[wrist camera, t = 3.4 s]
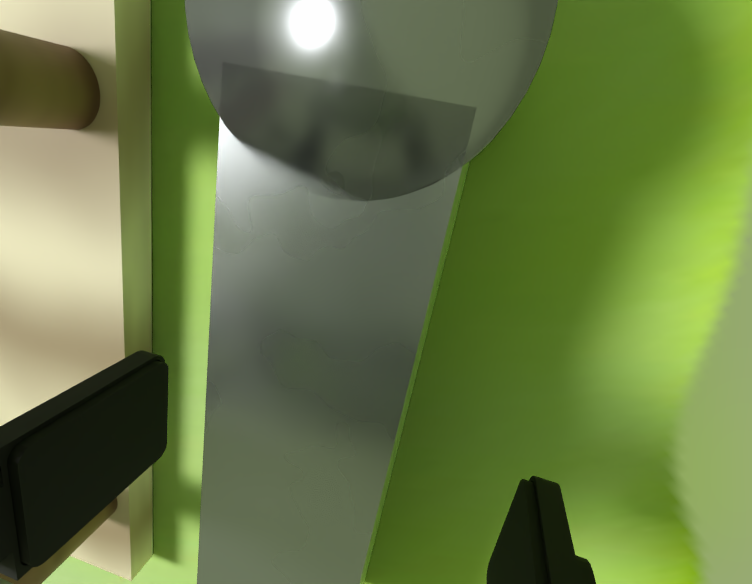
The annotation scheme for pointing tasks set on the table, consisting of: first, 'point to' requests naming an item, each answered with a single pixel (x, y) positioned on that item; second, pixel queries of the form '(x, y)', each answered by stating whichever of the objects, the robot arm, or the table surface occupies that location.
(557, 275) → the table surface
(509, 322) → the table surface
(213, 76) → the grey ball-end lever
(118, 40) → the rack
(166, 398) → the robot arm
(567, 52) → the table surface
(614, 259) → the table surface
